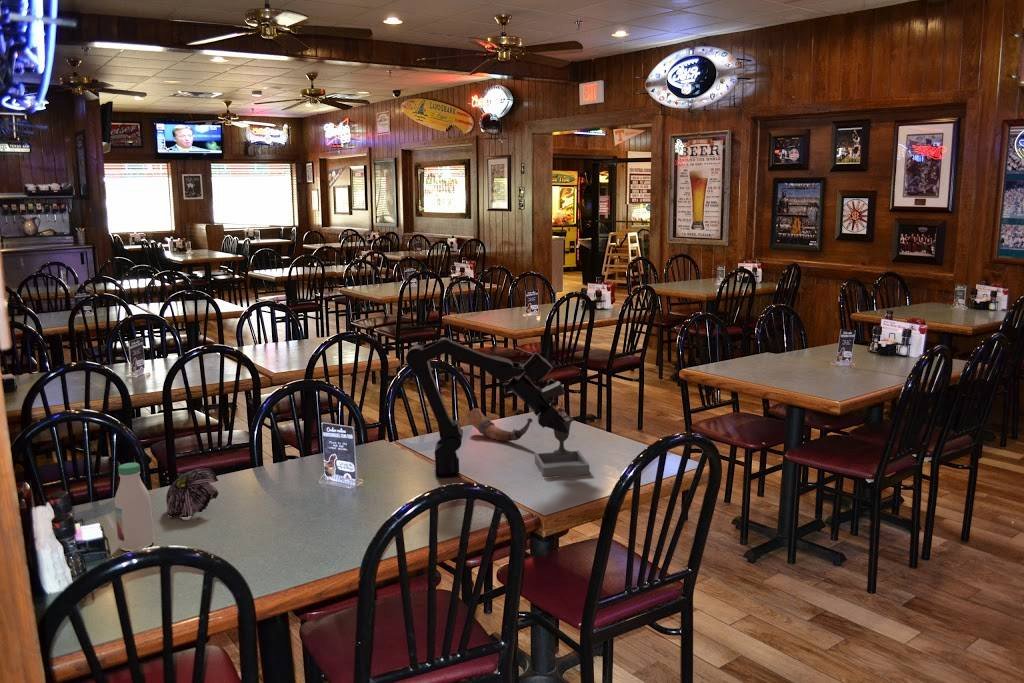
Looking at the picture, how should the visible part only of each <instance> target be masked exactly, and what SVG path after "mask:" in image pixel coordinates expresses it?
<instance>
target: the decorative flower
mask: <svg viewBox="0 0 1024 683" xmlns="http://www.w3.org/2000/svg"><path fill="white" fill-rule="evenodd" d="M217 477H218V474H216V472H214V471H213V470H212V468H207V467H200V468H195V469H193V470H189V471H186V472H184V473H182V474H181V475H180V476H178V477H177V478H176V480H175V481H173V482H172V484H171V485H170V486H169V488H168V489H167V492H166V499H165V500H166V506H167V508H166V509H167V511H166V513H167V516H168V515H169V516H172V517H173V518H177V517H178V518H179V517H188V516H192V517H193V516H194V510H195V511H196V512H198V513H200V512H203V511H204V510H207V507H208V506H209V503H210V501H211V500H213V499H215V500H216V499H217V497H218V496H219V491H218V489H217V488H216V487H215V486H213V484H211V483H216V482H218V481H219V479H218V478H217ZM172 517H171V518H172Z"/></svg>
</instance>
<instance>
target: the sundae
mask: <svg viewBox="0 0 1024 683" xmlns="http://www.w3.org/2000/svg"><path fill="white" fill-rule="evenodd" d="M560 403H561V404H560V407H558V408H557V410H558V411H559V418H560V420H561V421H562V422H563V424H564V425H565V427H566V428H567V429H568V432H567V433H566V434H565V433H563V432H560V431H557V430H554V429H553V434H554V438H555V439H556V440H558V442H559V447H558V449H556V450H553V451H552V452H553V453H554V454H556V455H567V454H569V453H570V451H571V450H568V449H565V445H564V444H565V441H567V439H568V438H569V435H570V429H571V424H572V422H574V418H573V417H571V416H569V414H568V413H567V412H566V411H565V408H563V407H564V405H563V401H560Z"/></svg>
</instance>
